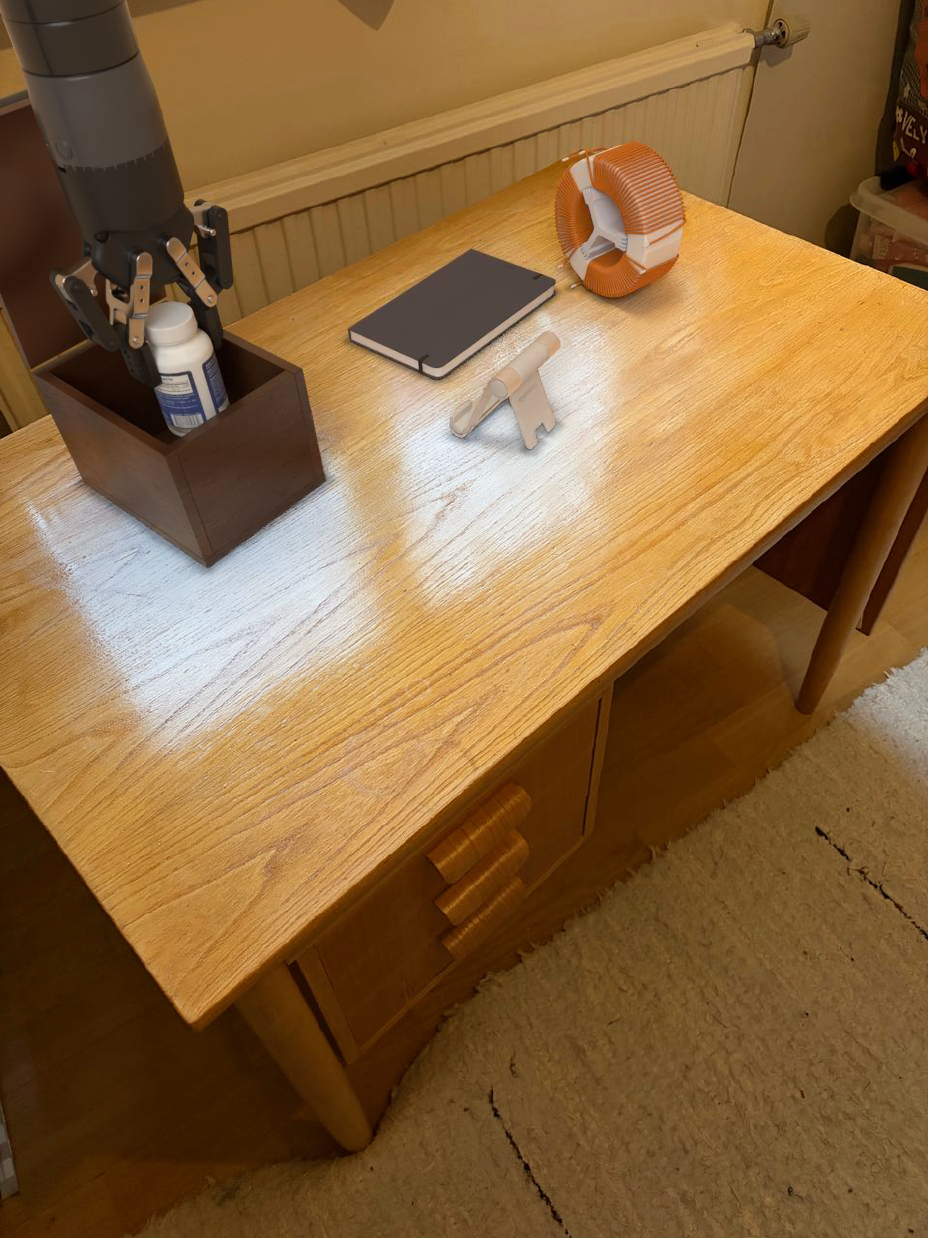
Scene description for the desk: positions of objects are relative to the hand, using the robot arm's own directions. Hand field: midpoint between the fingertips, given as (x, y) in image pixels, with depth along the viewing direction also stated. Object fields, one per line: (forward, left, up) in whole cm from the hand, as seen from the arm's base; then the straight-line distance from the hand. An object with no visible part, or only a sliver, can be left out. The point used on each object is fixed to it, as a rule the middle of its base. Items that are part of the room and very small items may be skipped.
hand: (181, 364), depth 69 cm
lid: (-7, +7, +8) cm, 13 cm away
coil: (+42, +29, -14) cm, 53 cm away
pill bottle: (0, 0, -6) cm, 6 cm away
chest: (-2, +2, -14) cm, 14 cm away
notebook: (+24, +26, -14) cm, 38 cm away
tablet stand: (+27, +6, -14) cm, 31 cm away
